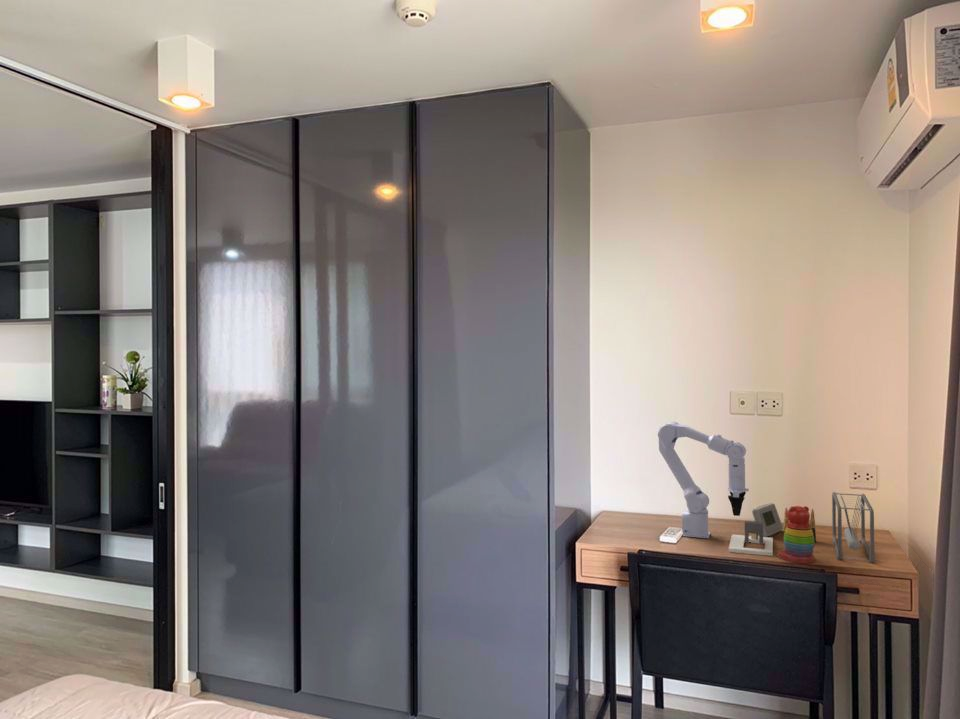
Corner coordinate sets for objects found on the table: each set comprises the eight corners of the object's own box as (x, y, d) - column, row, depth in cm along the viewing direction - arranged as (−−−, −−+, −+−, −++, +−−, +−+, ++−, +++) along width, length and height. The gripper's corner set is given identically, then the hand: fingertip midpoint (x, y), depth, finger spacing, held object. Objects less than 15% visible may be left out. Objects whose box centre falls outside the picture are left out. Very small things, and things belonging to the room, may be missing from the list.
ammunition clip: (784, 540, 254) (783, 507, 254) (783, 539, 256) (783, 506, 256) (816, 542, 251) (815, 509, 251) (815, 541, 253) (814, 508, 253)
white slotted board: (728, 551, 240) (728, 534, 240) (732, 537, 259) (731, 521, 259) (772, 556, 235) (772, 537, 235) (772, 541, 253) (772, 524, 253)
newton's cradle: (832, 538, 256) (832, 490, 256) (864, 541, 252) (864, 492, 251) (838, 561, 228) (837, 507, 228) (874, 564, 224) (874, 510, 224)
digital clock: (763, 539, 256) (763, 510, 256) (743, 534, 263) (742, 506, 263) (790, 533, 264) (790, 505, 264) (769, 528, 272) (769, 501, 272)
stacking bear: (808, 554, 236) (807, 502, 236) (822, 563, 226) (821, 509, 225) (776, 555, 236) (775, 502, 236) (788, 564, 226) (788, 509, 226)
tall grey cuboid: (744, 542, 245) (744, 522, 245) (745, 540, 247) (744, 521, 247) (763, 544, 242) (762, 524, 242) (763, 542, 244) (763, 522, 244)
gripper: (747, 480, 247) (748, 518, 247) (749, 473, 260) (749, 509, 260) (726, 479, 250) (727, 516, 250) (729, 472, 263) (729, 508, 263)
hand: (737, 513), depth 255 cm, fingers open, 7 cm apart
